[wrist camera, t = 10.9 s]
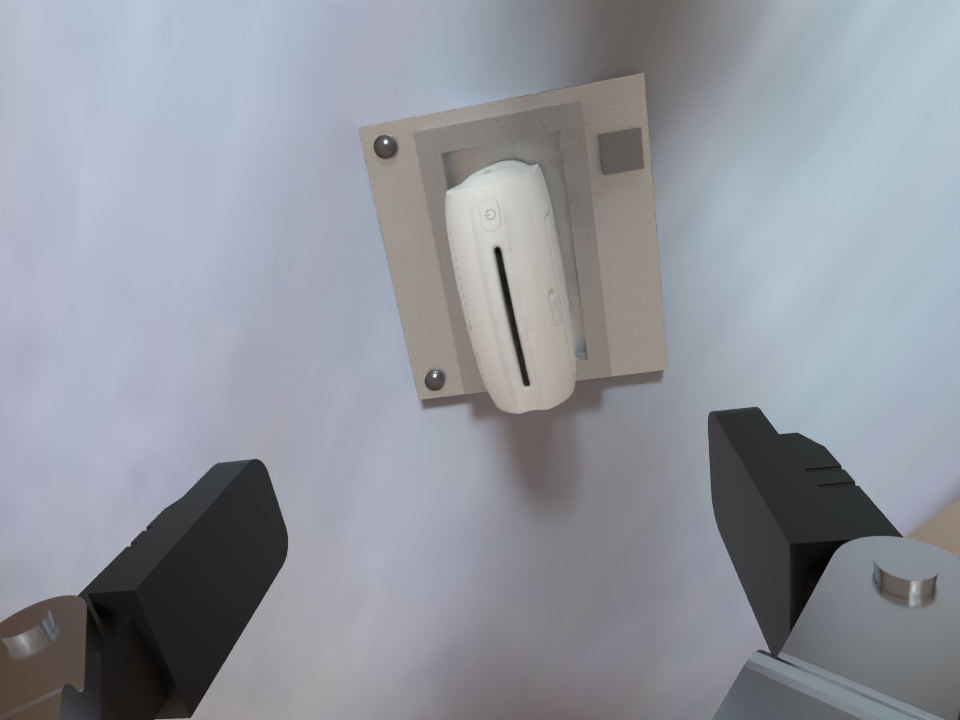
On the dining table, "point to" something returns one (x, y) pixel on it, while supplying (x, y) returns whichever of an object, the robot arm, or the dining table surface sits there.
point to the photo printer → (512, 285)
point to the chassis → (577, 211)
